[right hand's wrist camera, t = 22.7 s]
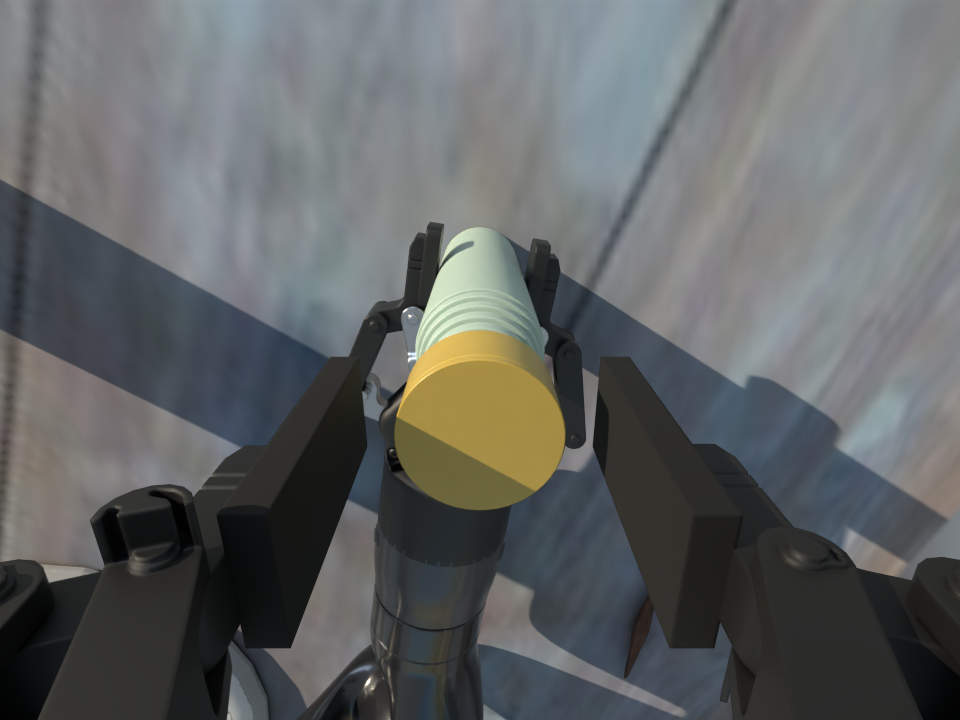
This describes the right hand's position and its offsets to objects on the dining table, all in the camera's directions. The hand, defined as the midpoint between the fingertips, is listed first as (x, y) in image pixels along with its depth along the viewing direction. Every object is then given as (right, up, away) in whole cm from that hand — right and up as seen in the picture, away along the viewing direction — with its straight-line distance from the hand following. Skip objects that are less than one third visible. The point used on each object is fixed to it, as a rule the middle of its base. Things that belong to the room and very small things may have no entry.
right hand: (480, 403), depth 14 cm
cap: (0, -1, -1) cm, 2 cm away
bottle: (0, +7, +18) cm, 19 cm away
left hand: (0, +7, +11) cm, 13 cm away
